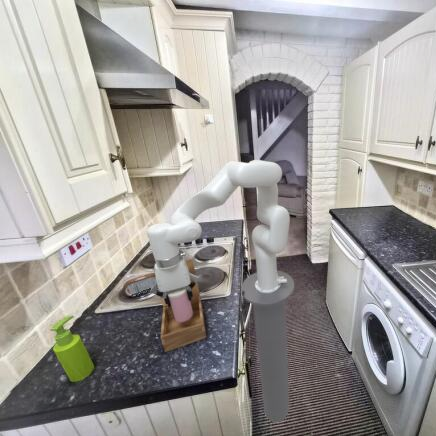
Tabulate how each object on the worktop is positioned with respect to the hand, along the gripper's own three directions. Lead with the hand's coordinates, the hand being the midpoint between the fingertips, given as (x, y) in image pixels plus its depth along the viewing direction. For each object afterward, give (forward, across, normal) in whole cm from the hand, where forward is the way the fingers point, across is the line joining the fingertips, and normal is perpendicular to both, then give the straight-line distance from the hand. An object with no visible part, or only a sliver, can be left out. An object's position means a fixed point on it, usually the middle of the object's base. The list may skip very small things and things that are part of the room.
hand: (180, 301), depth 83 cm
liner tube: (+7, 0, 0) cm, 7 cm away
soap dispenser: (+13, +31, +4) cm, 34 cm away
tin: (+13, +18, -32) cm, 39 cm away
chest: (+13, +1, 0) cm, 13 cm away
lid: (-2, 0, -9) cm, 9 cm away
